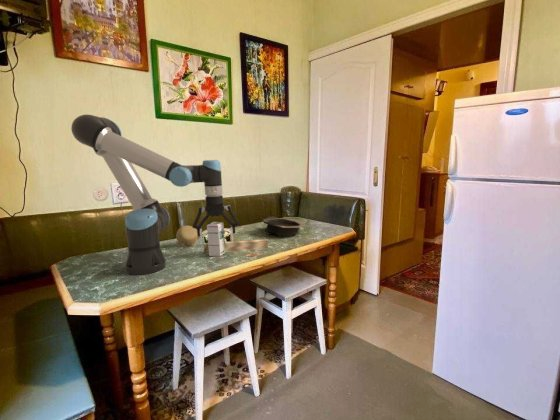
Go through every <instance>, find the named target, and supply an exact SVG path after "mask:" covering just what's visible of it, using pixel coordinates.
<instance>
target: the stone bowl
mask: <svg viewBox="0 0 560 420" xmlns="http://www.w3.org/2000/svg"><path fill="white" fill-rule="evenodd" d="M261 221H263V222H262V223H264V224H265V225H266V228H265V232H266V234H268V235H273V234H274V235H275V234H276V236H277V237H278V238H279V237H280V238H285V237H287V238H288V237H291V236H296V235H297V233H298V232H299V230H300V228H302V227H304V226H306V223H305V222H302V221H300V220H297V219H294V218H293V219H292V218H284V217H283V218H282V217H281V218H279V217H276V216H273V215H270V216H267V217H265V218H262V219H261Z"/></svg>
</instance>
